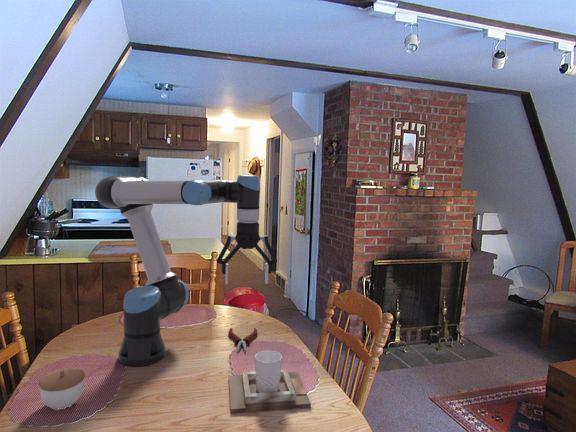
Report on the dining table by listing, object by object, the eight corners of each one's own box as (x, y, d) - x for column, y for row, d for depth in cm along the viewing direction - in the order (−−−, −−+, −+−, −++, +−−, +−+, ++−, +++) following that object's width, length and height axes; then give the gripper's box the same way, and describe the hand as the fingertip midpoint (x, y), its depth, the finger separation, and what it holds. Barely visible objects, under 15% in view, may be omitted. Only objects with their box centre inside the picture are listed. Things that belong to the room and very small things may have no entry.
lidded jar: (80, 412, 106) (79, 378, 105) (34, 418, 103) (33, 383, 102) (88, 391, 116) (87, 360, 115) (46, 395, 113) (45, 364, 112)
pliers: (225, 355, 143) (225, 348, 142) (228, 332, 163) (229, 326, 162) (257, 355, 144) (257, 348, 143) (257, 333, 164) (257, 326, 163)
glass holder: (230, 413, 108) (230, 402, 107) (228, 379, 125) (228, 369, 125) (310, 407, 112) (311, 396, 111) (297, 375, 129) (298, 365, 129)
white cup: (284, 385, 121) (285, 353, 120) (275, 398, 113) (276, 364, 112) (260, 379, 123) (261, 348, 122) (249, 392, 116) (250, 359, 115)
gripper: (282, 220, 141) (281, 279, 143) (210, 219, 137) (209, 280, 139) (286, 223, 134) (284, 285, 136) (209, 222, 129) (209, 286, 131)
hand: (246, 283), depth 137 cm, fingers open, 13 cm apart
